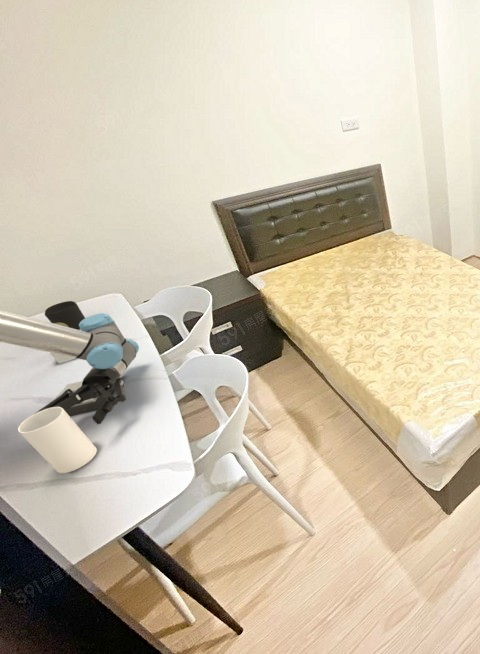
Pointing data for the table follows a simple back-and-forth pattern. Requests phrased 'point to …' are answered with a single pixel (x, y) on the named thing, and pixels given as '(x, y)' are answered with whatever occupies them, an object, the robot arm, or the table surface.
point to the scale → (85, 405)
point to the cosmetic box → (61, 358)
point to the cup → (58, 439)
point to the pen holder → (65, 314)
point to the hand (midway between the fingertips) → (65, 428)
